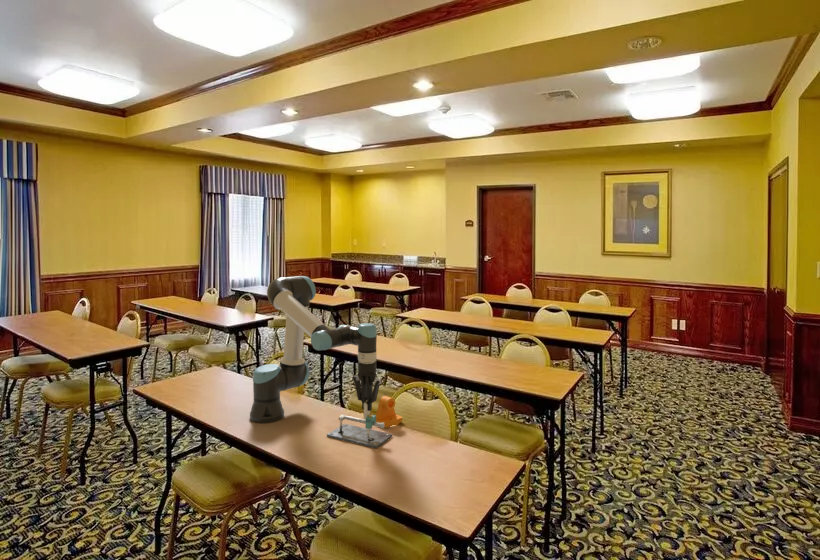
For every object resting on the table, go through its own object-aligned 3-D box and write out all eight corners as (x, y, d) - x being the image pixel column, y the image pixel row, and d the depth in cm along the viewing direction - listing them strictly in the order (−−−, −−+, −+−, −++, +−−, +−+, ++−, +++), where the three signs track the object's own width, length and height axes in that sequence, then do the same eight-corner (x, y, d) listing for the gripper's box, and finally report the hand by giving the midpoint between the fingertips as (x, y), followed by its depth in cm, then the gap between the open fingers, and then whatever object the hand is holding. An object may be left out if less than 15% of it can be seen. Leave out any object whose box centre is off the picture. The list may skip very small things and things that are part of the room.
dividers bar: (337, 432, 201) (337, 416, 200) (342, 429, 204) (342, 413, 203) (380, 442, 191) (380, 425, 191) (384, 439, 194) (384, 422, 194)
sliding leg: (365, 437, 195) (365, 415, 194) (370, 433, 198) (370, 412, 198) (370, 438, 194) (370, 416, 193) (375, 434, 197) (375, 413, 197)
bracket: (385, 429, 207) (385, 402, 206) (374, 424, 212) (374, 398, 211) (403, 423, 214) (403, 397, 213) (392, 418, 219) (392, 393, 218)
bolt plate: (326, 436, 198) (326, 433, 198) (344, 425, 210) (344, 423, 210) (376, 448, 188) (376, 445, 188) (392, 436, 199) (392, 433, 199)
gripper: (348, 361, 194) (348, 417, 196) (376, 365, 188) (375, 423, 190) (358, 357, 201) (358, 412, 203) (385, 361, 195) (385, 417, 197)
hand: (366, 417), depth 196 cm, fingers closed
